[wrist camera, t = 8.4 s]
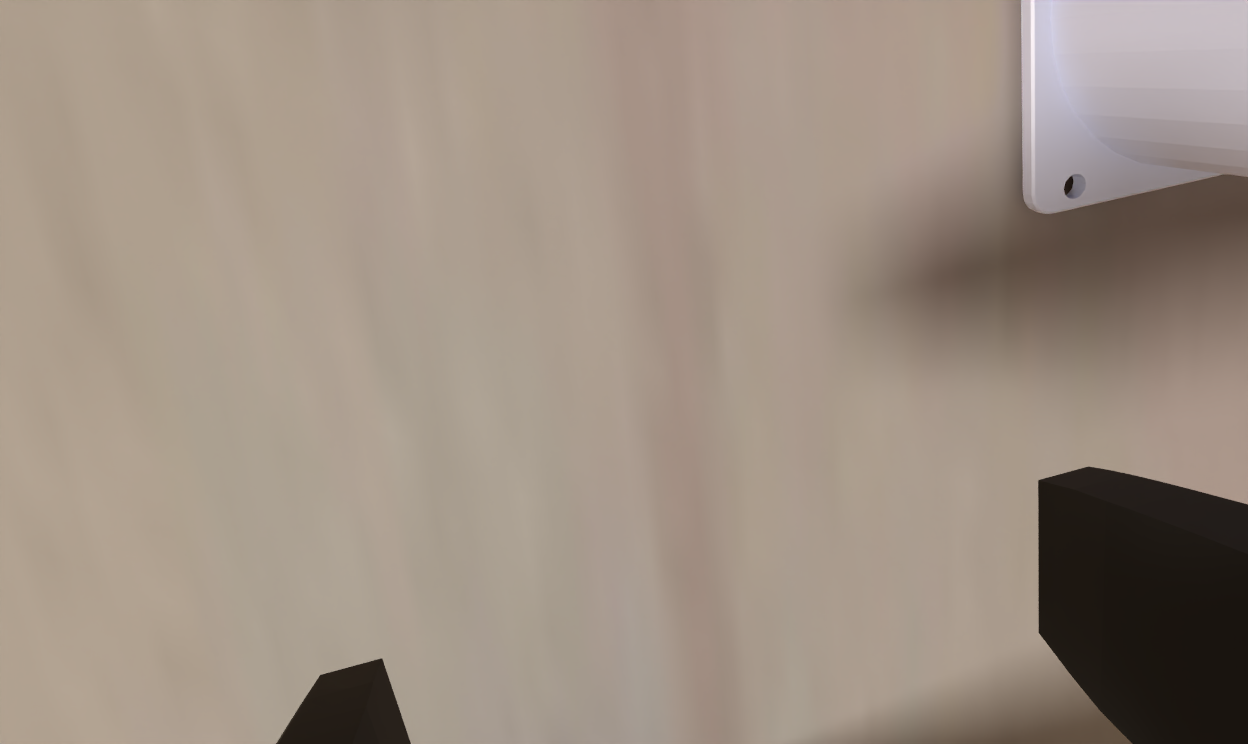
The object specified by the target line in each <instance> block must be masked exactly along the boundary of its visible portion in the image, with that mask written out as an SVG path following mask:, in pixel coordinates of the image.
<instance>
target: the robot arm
mask: <svg viewBox="0 0 1248 744" xmlns="http://www.w3.org/2000/svg"><path fill="white" fill-rule="evenodd" d="M1021 40H1022V153H1023V197H1024V202H1025V204H1026V205H1027V206H1028V208H1029V209H1031V210H1033V211H1035V212H1039V213H1043V214H1054V213H1058V212H1062V211H1067V210H1071V209H1075V208H1080V207H1084V206H1089V205H1093V204H1097V203H1102V202H1106V201H1110V200H1115V199H1119V198H1123V197H1128V196H1132V195H1137V194H1141V193H1145V192H1150V191H1154V190H1158V189H1163V188H1167V187H1172V186H1176V185H1180V184H1185V183H1189V182H1193V181H1198V180H1202V179H1207V178H1211V177H1215V176H1220V175H1224V174H1228V175H1236V176H1243V177H1248V0H1021ZM1070 176H1072V177H1073V181H1074V182H1073V187H1072V189H1071V190H1070V192H1069V193H1068V194H1066V195H1065V192H1064V186H1065V182H1066V181H1067V180H1068V178H1069V177H1070ZM1038 496H1039V634H1040V635H1041V636H1042V637H1043V639H1044V640H1045V641H1046V643H1047V644H1048V645H1049V647H1050V648H1051V649H1052V651H1053V652H1054V653H1055V655H1056V656H1057V657H1058V659H1059V660H1060V661H1061V663H1062V664H1063V665H1064V666H1065V668H1066V669H1067V670H1068V672H1069V673H1070V674H1071V676H1072V677H1073V678H1074V679H1075V681H1076V682H1077V683H1078V684H1079V685H1080V687H1081V688H1082V689H1083V690H1084V692H1085V693H1086V694H1087V695H1088V696H1089V698H1090V699H1091V700H1092V701H1093V703H1094V704H1095V705H1096V706H1097V707H1098V709H1099V710H1100V711H1101V712H1102V713H1103V714H1104V715H1105V716H1106V717H1107V718H1108V719H1109V720H1110V721H1111V722H1112V723H1113V724H1114V725H1115V726H1116V727H1117V728H1118V729H1119V730H1120V731H1121V732H1122V733H1123V734H1124V735H1125V736H1126V737H1127V738H1128V739H1129V740H1130V741H1131V742H1132V743H1133V744H1248V505H1247V504H1244V503H1240V502H1236V501H1232V500H1229V499H1225V498H1221V497H1217V496H1213V495H1210V494H1206V493H1202V492H1198V491H1195V490H1191V489H1187V488H1183V487H1179V486H1175V485H1171V484H1167V483H1163V482H1159V481H1155V480H1151V479H1147V478H1143V477H1138V476H1134V475H1130V474H1125V473H1120V472H1116V471H1111V470H1105V469H1099V468H1094V467H1085V468H1082V469H1078V470H1074V471H1071V472H1067V473H1063V474H1060V475H1056V476H1052V477H1049V478H1045V479H1041V480H1038ZM276 744H411V743H410V740H409V737H408V734H407V731H406V728H405V725H404V722H403V719H402V716H401V713H400V710H399V707H398V704H397V701H396V698H395V695H394V692H393V689H392V687H391V684H390V681H389V678H388V675H387V672H386V669H385V666H384V663H383V660H382V659H378V660H374V661H371V662H367V663H363V664H360V665H356V666H352V667H349V668H345V669H341V670H338V671H334V672H330V673H326V674H323V675H320V676H319V678H318V679H317V681H316V683H315V684H314V686H313V687H312V689H311V690H310V692H309V693H308V695H307V696H306V698H305V699H304V701H303V702H302V704H301V705H300V707H299V708H298V710H297V712H296V713H295V715H294V716H293V718H292V719H291V721H290V723H289V724H288V726H287V727H286V729H285V731H284V732H283V734H282V735H281V737H280V739H279V740H278V742H277V743H276Z"/></svg>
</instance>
